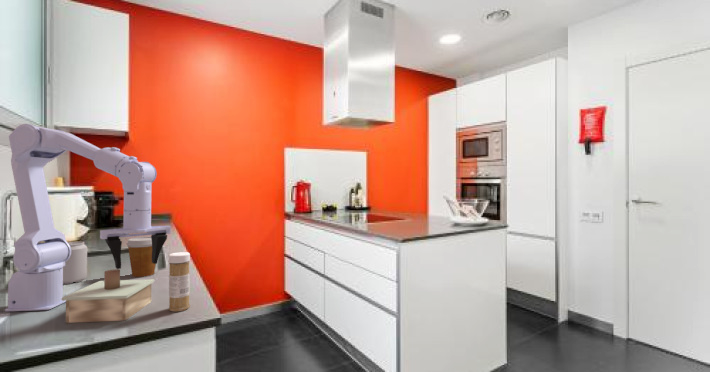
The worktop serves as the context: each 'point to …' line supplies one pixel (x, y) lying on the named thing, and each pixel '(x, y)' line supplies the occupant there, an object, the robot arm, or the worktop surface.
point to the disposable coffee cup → (141, 256)
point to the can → (76, 264)
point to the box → (107, 308)
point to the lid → (109, 288)
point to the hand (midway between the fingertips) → (136, 265)
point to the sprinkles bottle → (179, 281)
